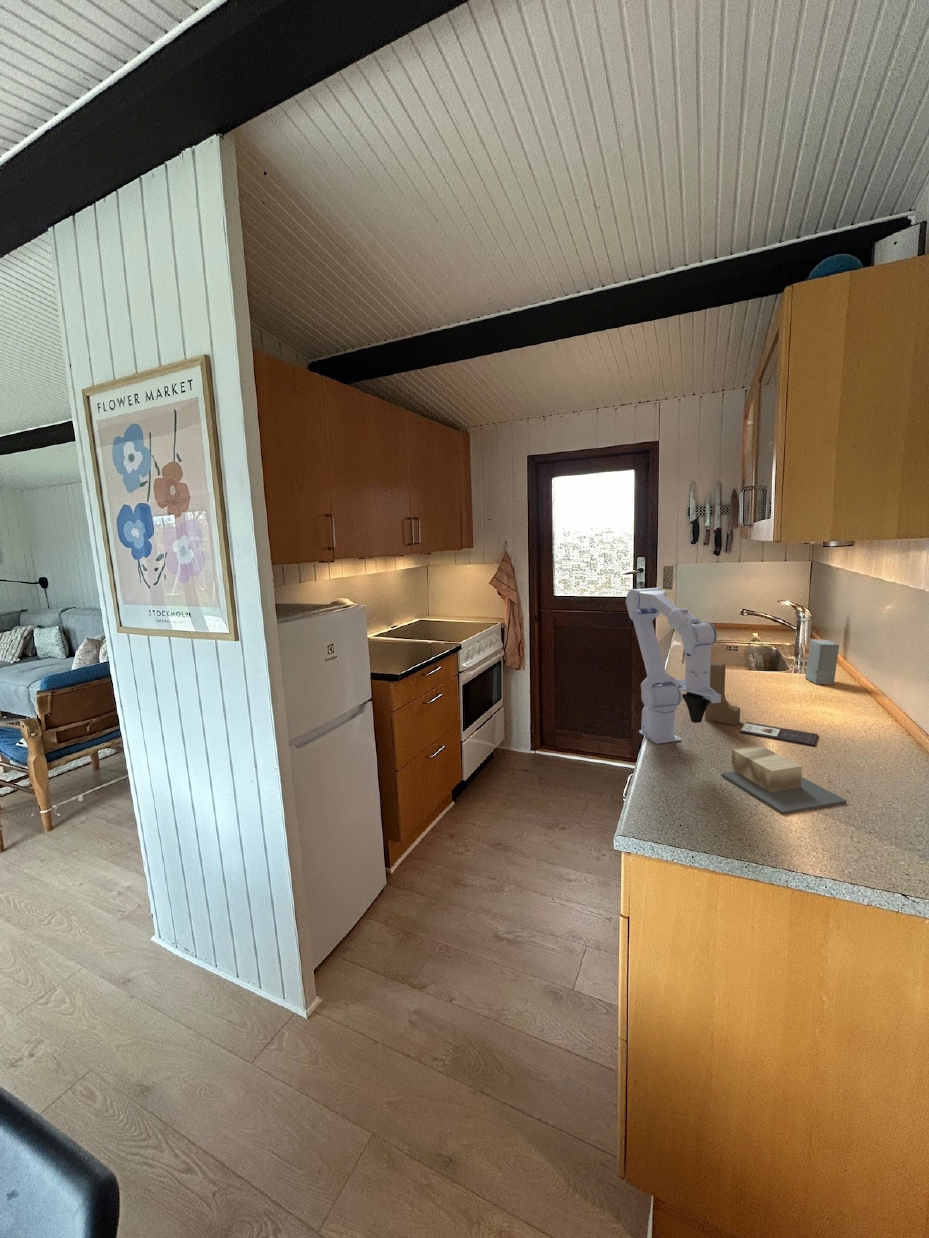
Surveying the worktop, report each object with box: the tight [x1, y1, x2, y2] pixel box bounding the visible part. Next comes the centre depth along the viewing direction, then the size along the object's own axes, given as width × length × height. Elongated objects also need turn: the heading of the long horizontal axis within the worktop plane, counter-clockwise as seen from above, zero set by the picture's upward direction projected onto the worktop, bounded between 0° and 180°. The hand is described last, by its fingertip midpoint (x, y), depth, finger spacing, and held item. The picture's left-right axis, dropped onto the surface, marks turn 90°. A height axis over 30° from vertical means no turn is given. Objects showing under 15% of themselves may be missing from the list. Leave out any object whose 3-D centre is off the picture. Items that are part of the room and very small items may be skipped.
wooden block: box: [704, 661, 741, 726], centre depth 154 cm, size 9×4×18 cm, turn 49°
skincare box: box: [805, 638, 840, 685], centre depth 189 cm, size 8×7×16 cm
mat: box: [720, 770, 848, 815], centre depth 114 cm, size 18×16×1 cm
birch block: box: [731, 745, 803, 792], centre depth 117 cm, size 5×8×12 cm
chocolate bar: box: [739, 721, 819, 748], centre depth 144 cm, size 9×1×18 cm
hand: (696, 721), depth 128 cm, fingers closed
